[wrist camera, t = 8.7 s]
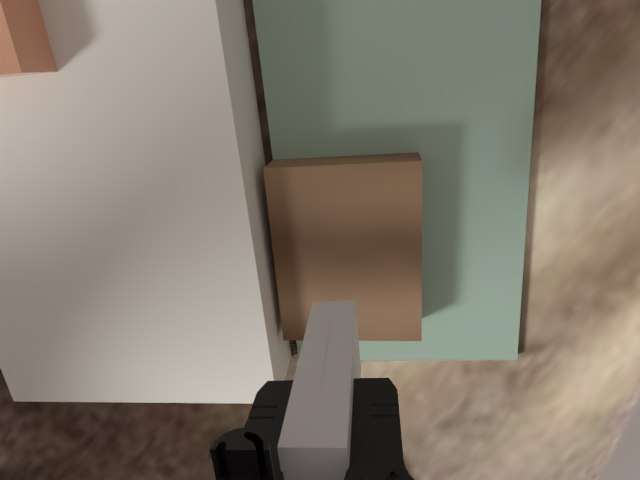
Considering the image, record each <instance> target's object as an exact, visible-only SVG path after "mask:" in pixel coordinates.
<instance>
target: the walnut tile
mask: <svg viewBox="0 0 640 480" xmlns="http://www.w3.org/2000/svg"><path fill="white" fill-rule="evenodd" d="M263 172H264V181H265V189H266V197H267V206H268V214H269V223H270V231H271V240H272V248H273V257H274V265H275V273H276V282H277V290H278V299H279V307H280V316H281V324H282V332H283V340H297V341H303V339H304V335H305V331H306V327H307V323H308V319H309V315H310V311H311V307H312V302H326V301H355V300H356V311H357V324H358V338H359V341H422V159H421V156H420V154H419V152H415V153H396V154H376V155H357V156H337V157H318V158H298V159H279V160H272V161H271V162H270V163H269V164H268V165H266V166H265V167H264V168H263Z"/></svg>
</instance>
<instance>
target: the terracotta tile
mask: <svg viewBox="0 0 640 480" xmlns="http://www.w3.org/2000/svg"><path fill="white" fill-rule="evenodd" d="M51 72H58V71H57V68H56V64H55V61H54V57H53V53H52V50H51V46H50V42H49V39H48V35H47V31H46V28H45V24H44V21H43V17H42V13H41V10H40V6H39V2H38V0H0V78H5V77H14V76H23V75H33V74H42V73H51Z"/></svg>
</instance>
